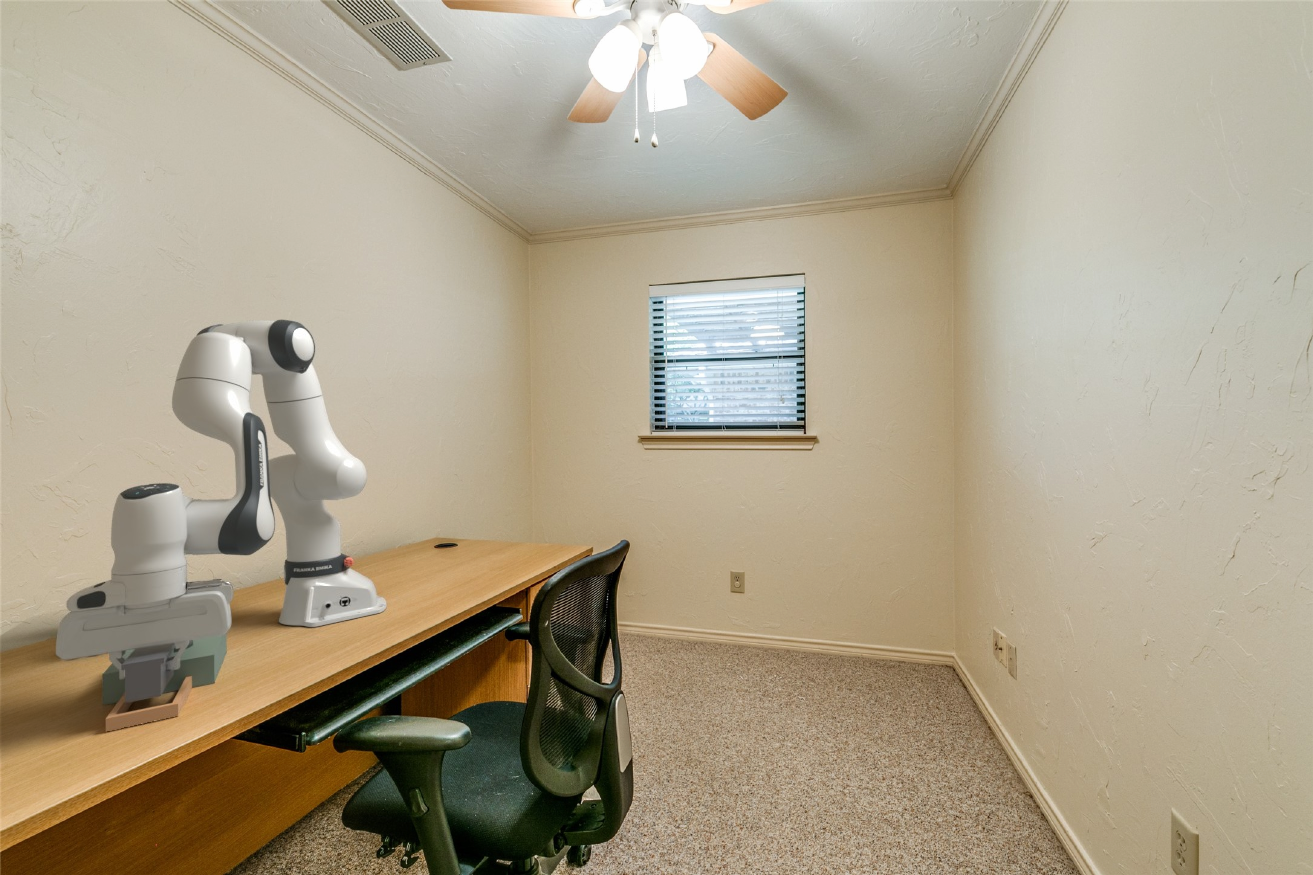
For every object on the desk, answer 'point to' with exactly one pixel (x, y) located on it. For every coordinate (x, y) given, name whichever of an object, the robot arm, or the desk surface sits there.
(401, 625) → the desk surface
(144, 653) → the grey stepped block
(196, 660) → the green panel with knob
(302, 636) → the desk surface
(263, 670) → the desk surface
